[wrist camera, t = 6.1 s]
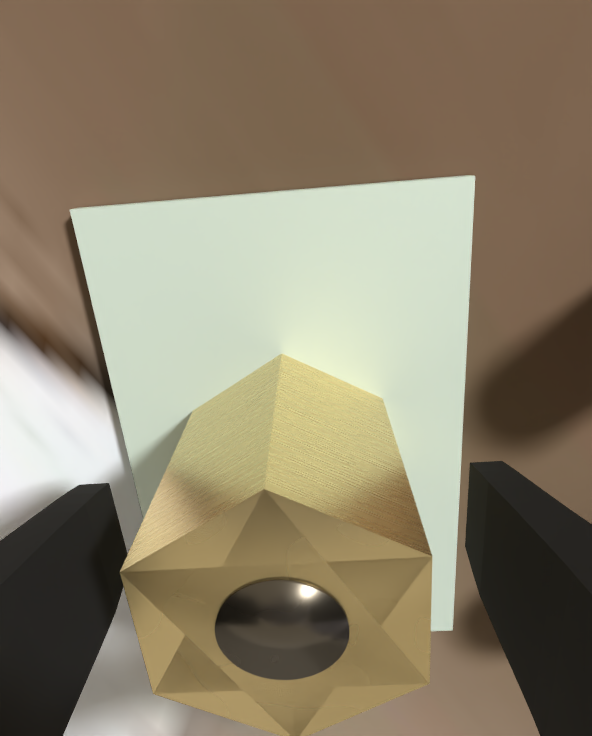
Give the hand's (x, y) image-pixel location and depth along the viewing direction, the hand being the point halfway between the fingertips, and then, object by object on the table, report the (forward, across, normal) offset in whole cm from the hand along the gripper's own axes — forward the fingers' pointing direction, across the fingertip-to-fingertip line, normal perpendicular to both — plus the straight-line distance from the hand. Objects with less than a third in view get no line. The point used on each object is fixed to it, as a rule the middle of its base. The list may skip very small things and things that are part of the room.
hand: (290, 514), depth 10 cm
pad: (+3, 0, 0) cm, 3 cm away
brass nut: (+2, 0, 0) cm, 2 cm away
